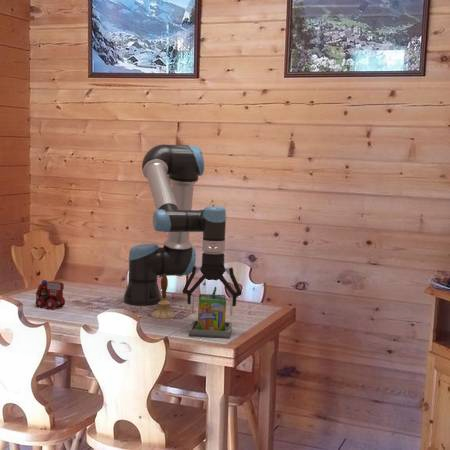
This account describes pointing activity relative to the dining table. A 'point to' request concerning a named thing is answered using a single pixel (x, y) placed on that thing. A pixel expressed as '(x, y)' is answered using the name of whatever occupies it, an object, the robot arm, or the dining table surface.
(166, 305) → the hand bell
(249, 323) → the dining table surface
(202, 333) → the tray
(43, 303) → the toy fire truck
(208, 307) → the chalk box
